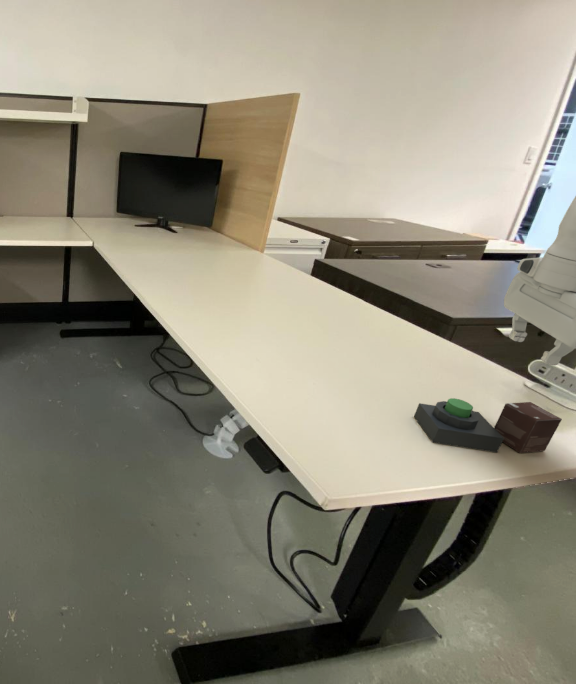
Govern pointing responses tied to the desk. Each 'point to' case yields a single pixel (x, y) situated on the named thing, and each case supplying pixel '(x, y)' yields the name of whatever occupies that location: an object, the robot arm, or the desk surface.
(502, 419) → the box
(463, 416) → the green button cap
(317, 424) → the desk surface
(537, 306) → the robot arm
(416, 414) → the button base
